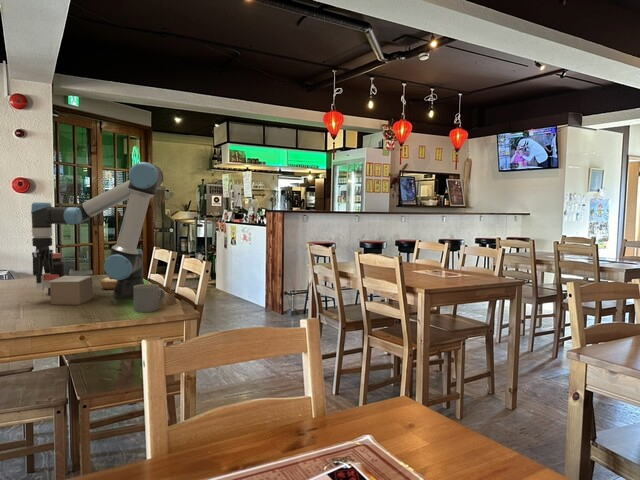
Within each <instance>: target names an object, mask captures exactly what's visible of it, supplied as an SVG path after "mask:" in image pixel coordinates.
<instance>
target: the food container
mask: <svg viewBox="0 0 640 480" xmlns="http://www.w3.org/2000/svg"><path fill="white" fill-rule="evenodd" d="M68 275H69V276H92V277H91V278H92V279H93V275H94V272H93V270H92V269H88V270H74V269H73V268H72V269H71V268H70V269H69V272H68Z"/></svg>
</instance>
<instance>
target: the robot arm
mask: <svg viewBox="0 0 640 480" xmlns="http://www.w3.org/2000/svg"><path fill="white" fill-rule="evenodd" d="M128 178H129V180H127V181H125V182H122V183H120V184H119V185H116V186H114V187H113V188H110V189H108V190H106V191H104V192H102V193H101V194H98V195H96V196H94V197H93V198H91V199H88V200H86V201H84V202H83V203H80V204H78V205H75V206H69V207H68V206H61V207H60V206H58V207H57V206H56V207H55V206H52V203H51V202H35V201H34V202H32V204H31V211H30V214H31V232H32V233H31V236H32V237H33V238H32V241H31V243H32V246H33V247H35V252H34V251H33V252H31V256H32V276H34V277H36V278H35V280H36V281H35V282H36V283H35V284H36V291H44V290H45V288H46V289H48V288H50V283H51V282H49V281H51V280H44V276H43V275H51V273H53V257H52V254H53V253H54V249H50V247H52V246H53V238H52V237H53V226H52V225H78V224H82V223H85V222H87V221H88V220H89V219H91V218H92V217H95V216H96V215H98V214H101V213H102V212H105V211H106V210H108V209H111V208H112V207H114V206H117V205H118V204H121V203H122V202H125V201H127V200H128V201H127V204H126V208H125V210H124V215H123V219H122V223H121V226H120V230H119V233H118V237H117V241H116V243H115V244H114V245H112V246H111V249H110V252H109V256H107V258H106V259H105V261H104V263H103V269H104V273H105V274H106V276H107V277H110V278H112V279H115V280H117V283H116V286H115V289H114V290H113V293H112V294H113V298H115V299H123V300H124V299H134V295H133V287H134V286H136V285H141V284H146V283H145V280H144V264H143V263H144V258H143V257H144V254H143V253H144V252H143V250H142V249H141V248H138V243H139V240H140V236H141V233H142V230H143V226H144V222H145V217H146V215H147V212H148V207H149V203H150V201H151V198H154V197H155V196H156V192H157V189H158V188H159V187H160V186H161V185H163V182H164V173H163V171H162V170H161V168H160V167H159V166H157V165H155V164H152V163H151V162H146V161H141V162H137V163H135V164H133V165H132V166H131V168H130V169H129V172H128ZM43 272H44V273H43Z"/></svg>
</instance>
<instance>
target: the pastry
mask: <svg viewBox="0 0 640 480" xmlns="http://www.w3.org/2000/svg"><path fill="white" fill-rule="evenodd" d="M116 283H117V280H115V279H112V278H110V277H109V276H107V277H105V278H102V279H101V280H100V285H101V287H102V289H103V290H111V291H112V290H113V291H114V289H115V286H116Z"/></svg>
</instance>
